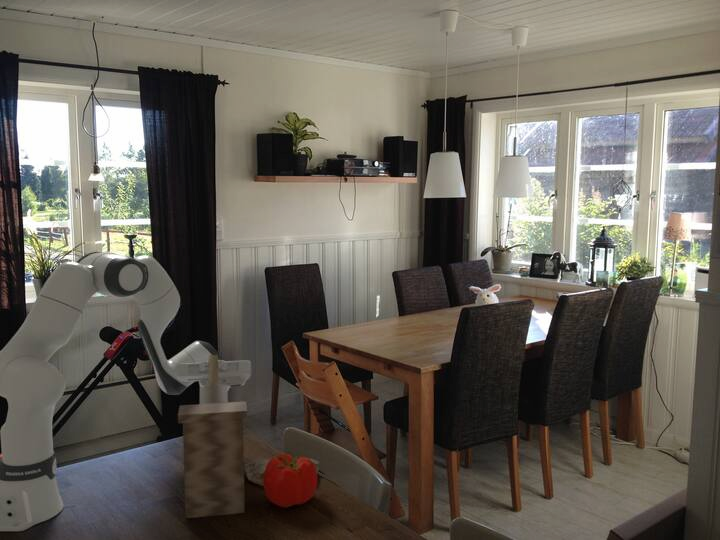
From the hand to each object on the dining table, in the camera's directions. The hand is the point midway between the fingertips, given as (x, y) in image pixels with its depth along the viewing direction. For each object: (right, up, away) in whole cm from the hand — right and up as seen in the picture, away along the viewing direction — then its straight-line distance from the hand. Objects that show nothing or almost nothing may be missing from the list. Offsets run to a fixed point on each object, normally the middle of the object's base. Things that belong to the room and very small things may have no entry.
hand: (213, 363), depth 175 cm
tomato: (+22, -34, -8) cm, 41 cm away
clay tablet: (+17, -33, +6) cm, 37 cm away
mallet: (0, -6, 0) cm, 6 cm away
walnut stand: (+3, -34, -12) cm, 37 cm away
